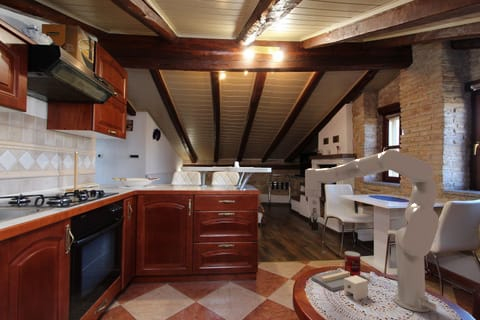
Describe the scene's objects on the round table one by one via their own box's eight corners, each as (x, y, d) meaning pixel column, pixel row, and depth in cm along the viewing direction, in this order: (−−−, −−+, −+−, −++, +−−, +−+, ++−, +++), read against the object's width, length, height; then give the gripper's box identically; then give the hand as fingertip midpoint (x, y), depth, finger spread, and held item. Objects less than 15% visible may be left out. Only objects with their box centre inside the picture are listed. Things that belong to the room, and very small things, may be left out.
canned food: (348, 269, 136) (348, 250, 137) (363, 274, 130) (362, 253, 131) (342, 273, 131) (341, 252, 132) (356, 278, 125) (356, 256, 126)
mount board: (361, 283, 119) (361, 276, 119) (332, 291, 110) (332, 284, 111) (338, 272, 132) (338, 266, 132) (311, 279, 123) (311, 272, 123)
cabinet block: (368, 296, 106) (367, 280, 107) (354, 300, 102) (354, 284, 103) (356, 290, 112) (356, 275, 112) (343, 294, 108) (342, 278, 108)
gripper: (323, 194, 110) (324, 232, 109) (318, 192, 127) (318, 225, 126) (306, 194, 111) (307, 231, 110) (304, 192, 128) (304, 224, 127)
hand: (313, 228), depth 118 cm, fingers open, 9 cm apart
